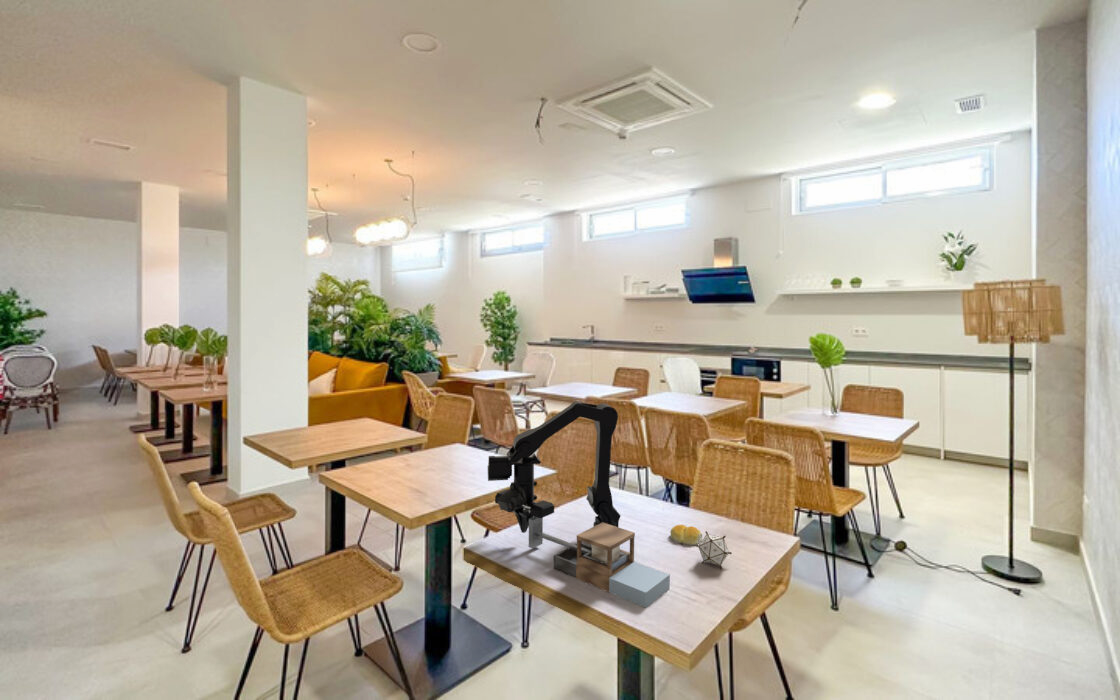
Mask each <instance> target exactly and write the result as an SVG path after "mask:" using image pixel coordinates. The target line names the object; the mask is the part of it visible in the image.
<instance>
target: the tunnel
mask: <svg viewBox="0 0 1120 700" xmlns="http://www.w3.org/2000/svg"><path fill="white" fill-rule="evenodd" d="M635 535H636V532H634V531H630V530H628V529H624V528H621V527H620V526H618V527H616V526H612V525H609V524H606V523H603V522H602V523H600V524H598V525H596V526H594V525H593V527H590V528H588V529H587V530H585V531H582V532H581V533H579V534H576V543H574V545H577V551H576V550H573V549H570V548H568V547H566V548H565V549H564V550H562V551H559V552H558V553H556V554H554V555H553V570H554V571H555V570H556V572H557V571H558V572H560V573H563V574H565V575H567V576H569V577H572V578H574V579H577V580H579V581H582V582H583V583H586V584H589V585H591V586H594V587H596V588H598V589H601V590H602V591H605V592H608V593H610V592H609V578H610V577H612V576H613V575H615V574H616V573H618V572H619V571H621V570H622V569H624V568H625V567H627V566H628V565H630V564H631V563H633V562H635V537H636V536H635ZM626 542H629V551H625V550H623V549H620V552H623V553H626V554H628V562H626V563H625V564H623V565H622V566H620V567H619V568H617V569H616V570H614V571H612V550H613V549H614V548H616V547H618V546H619V545H620V546H621V545H623V544H625V543H626ZM592 545H594V546H597V547H599V548H602V549H605V550H607V566H605V565H602V564H600V563H597V562H594V561H592V560H589V559H587V558H584V557H583V555H585V554H584V553H581V547H582V548H585V549H588V550H591V551H592Z"/></svg>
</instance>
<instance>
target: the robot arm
mask: <svg viewBox="0 0 1120 700" xmlns="http://www.w3.org/2000/svg"><path fill="white" fill-rule="evenodd" d="M579 418H583V419H587V420H592V421H593V422H594V427H595V432H596V445H595V446H596V447H595V460H594V461H595V463H594V465H595V466H594V481H593V483H592V486H590V485H588V486H587V496H586V498H585V499H586V500H587V502H588V505H589V506H590V509H592V510H593V512H594V513H595V514H596V516H594V522H593V527H594V526H596V525H598V524H600V523H602V522H603V523H606V524H609V525H612V526H616V527H619V525H620V524H619V522H620V520H621V519H620V518H621V514H620V513H619V512H618V511H617V509H616V508H615V507H614V505H613V496H612V491H611V487H610V477H611V475H610V472H611V458H612V456H611V455H612V451H611V450H612V442H613V441H612V439H613V436H614V435H613V434H614V432H615V431H616V428H617V424H618V420H619V413H618V411H617V410H616V408H614V407H612V405H609V404H608V403H599V404H593V403H587V402H580V401H578V400H577V401H576V400H575V401H572V403H571V404H570V405H568V406H567V407H566V408H564V409H563V410H561V411H560V412H558V413H557V414H555V415H554V416H552V417H551V418H549V419H547V420H546V421H545V422H543V423H542V424H540V425H539V426H536V427H533V428H530V429H528V430H525V431H522V432H520V433H518V434H517V435H516V436H515V437H514V439H513V442H512V446H511V447H510V449H509V450H508V451H507V453H506V455H500V456H499V455H497V456H495V455H489V456H488V462H487V463H488V464H487V481H488V482H492V481H495V482H496V481H508V480H509V479H511V477H512V476H513V481H512V482H510V485H509V489H504V490H502V491H499V492H496V495H495V497H494V504H498V505H499V509H500V511H505V512H507V513H513V514H514V516H515V517H516V520H517V522H518V526H519V529H520V533H523V534H524V533H526V532H527V531H528V530H529V519H530V518H532V517H534V516H535V517H538V518H545V517H548V516H550V515H552V514H554V513H555V505H554V504H553V503H552V502H551V501H546V500H544V499H543V500H540V501H536V500H538V496H537V494H536V495H535V486H537V485H538V481H536V480H535V465H540V464H541V463H542V461H541V459H540V458H539V457H538V456H537V455H536V452H537V451H538V450H539V449H540V447H542V445H543V444H544V443H545V442H546V441H547V440H548V439H549V438H550V437H552V436H554V435H556V433H558V432H560V431H561V430H563V429H564V428H565V427H567V426H569V425H570V424H571V423H573V422H575V421H576V420H578V419H579Z"/></svg>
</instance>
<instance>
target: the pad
mask: <svg viewBox="0 0 1120 700" xmlns="http://www.w3.org/2000/svg"><path fill="white" fill-rule="evenodd" d="M670 578H671V574H670V573H667V572H665V571H662V570H659V569H655V568H652V567H650V566H648V565H645V564H641V563H639V562H637V561H634V562H633V563H631V564H630V565H628V566H627V567H625V568H624V569H622V570H621V571H619V572H618V573H616V574H615V575H613V576H612V577H610V578H609V592H608V593H610V594H611V595H615V596H617V597H619V598H622V599H624V600H627V601H629V602H631V603H633V604H636V605H638V606H641V607H643V608H648V606H650V605H651V604H652V603H654V602H655V601H656V600H657V599H658V598H660V597H661V596H662V595H663V594H665V593H666V592H667V591H668V590H670V587H671V586H670V585H671V584H670V583H671V581H670V580H671V579H670Z"/></svg>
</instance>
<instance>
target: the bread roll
mask: <svg viewBox="0 0 1120 700" xmlns="http://www.w3.org/2000/svg"><path fill="white" fill-rule="evenodd" d="M670 529H671V530H670V537H671V540H673V541H674V542H675V543H677V544H684V545H687V546H695V545H699V544H700V543H701V541H702V540H703V533H702V532H701V531H700V530H699V529H698V528H697V527H694V526H687V525H684V524H677V525H674V526H673V527H672V528H670Z"/></svg>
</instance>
